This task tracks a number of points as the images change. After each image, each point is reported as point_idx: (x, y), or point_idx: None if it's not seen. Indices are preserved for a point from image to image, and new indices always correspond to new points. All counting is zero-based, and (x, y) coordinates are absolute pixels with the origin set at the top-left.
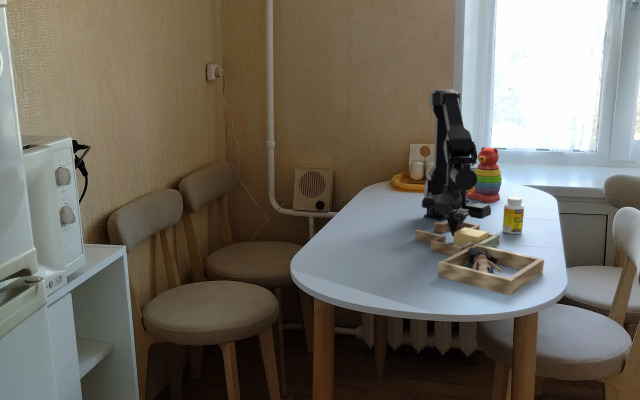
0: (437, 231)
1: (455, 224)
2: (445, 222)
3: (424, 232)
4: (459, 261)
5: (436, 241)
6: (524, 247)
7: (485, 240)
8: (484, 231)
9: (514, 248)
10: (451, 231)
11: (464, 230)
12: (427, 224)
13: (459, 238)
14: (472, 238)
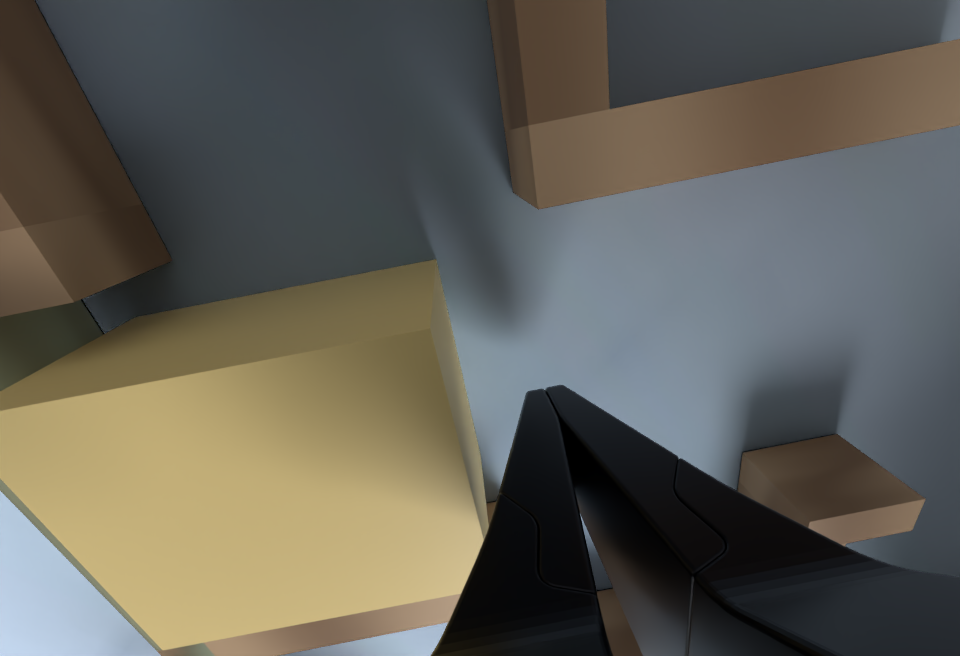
0: (800, 443)
1: (538, 512)
2: None
3: (942, 63)
4: None
5: None
6: (60, 646)
7: None
8: (208, 638)
9: (63, 592)
10: (584, 409)
11: (395, 503)
12: (944, 505)
13: (338, 310)
14: (84, 377)
